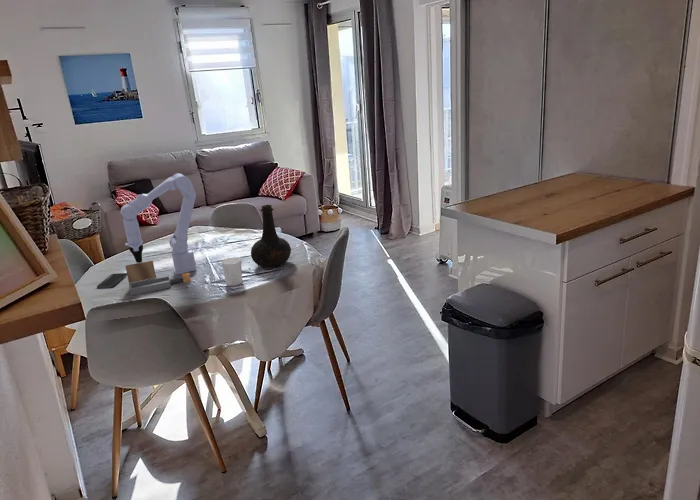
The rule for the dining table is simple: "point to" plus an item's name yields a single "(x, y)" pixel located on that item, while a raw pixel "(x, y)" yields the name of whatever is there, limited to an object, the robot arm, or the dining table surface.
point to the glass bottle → (270, 244)
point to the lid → (140, 271)
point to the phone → (112, 280)
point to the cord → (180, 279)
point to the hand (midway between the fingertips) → (139, 262)
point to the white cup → (232, 271)
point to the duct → (149, 285)
